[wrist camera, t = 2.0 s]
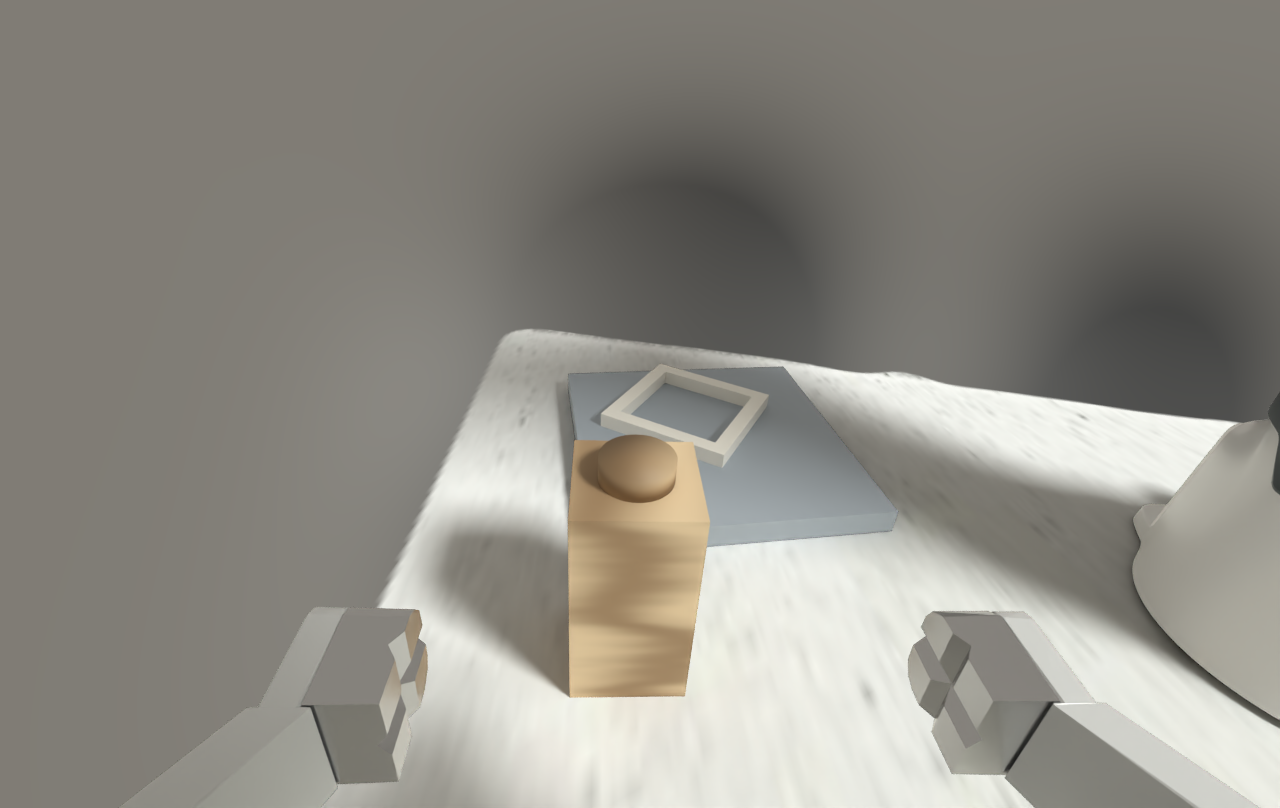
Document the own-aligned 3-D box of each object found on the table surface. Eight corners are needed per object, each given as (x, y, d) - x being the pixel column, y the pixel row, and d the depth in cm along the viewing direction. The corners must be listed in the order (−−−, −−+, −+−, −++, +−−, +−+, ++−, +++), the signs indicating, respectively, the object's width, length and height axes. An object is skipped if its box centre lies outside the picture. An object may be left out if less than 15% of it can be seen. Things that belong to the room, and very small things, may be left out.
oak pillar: (673, 605, 31) (695, 422, 25) (684, 696, 27) (713, 500, 21) (574, 605, 31) (574, 419, 25) (569, 697, 26) (567, 498, 21)
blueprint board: (780, 382, 52) (783, 366, 51) (891, 530, 37) (898, 511, 36) (568, 390, 49) (568, 373, 48) (591, 556, 34) (592, 535, 33)
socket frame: (766, 406, 46) (769, 395, 45) (722, 468, 39) (724, 455, 38) (659, 374, 49) (660, 363, 49) (600, 425, 42) (600, 413, 42)
